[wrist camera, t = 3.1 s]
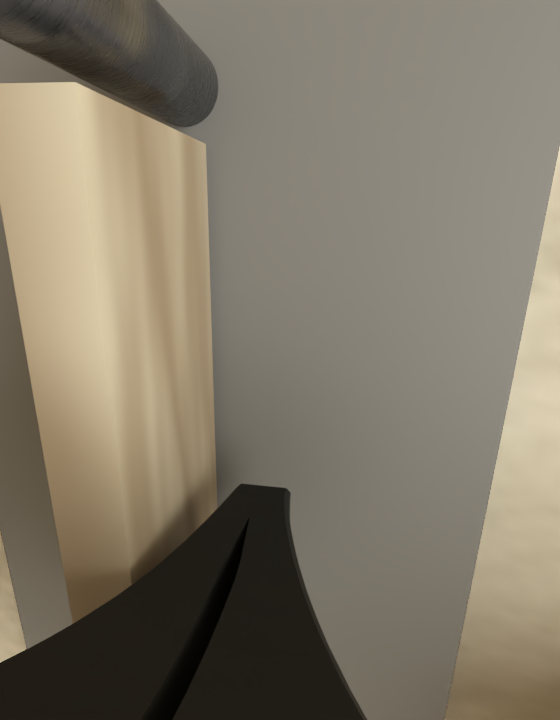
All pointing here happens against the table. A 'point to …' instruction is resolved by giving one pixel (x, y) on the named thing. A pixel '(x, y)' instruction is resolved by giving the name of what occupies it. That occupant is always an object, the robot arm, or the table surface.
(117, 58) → the hinge post
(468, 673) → the table surface
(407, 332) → the gate board
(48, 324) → the gate
